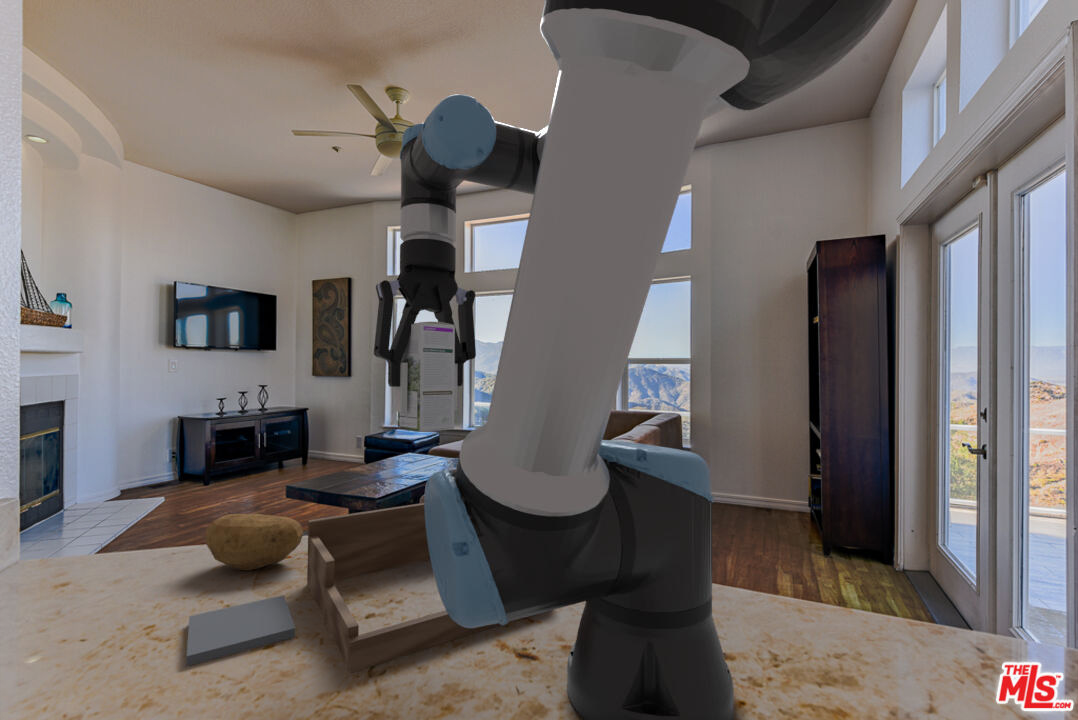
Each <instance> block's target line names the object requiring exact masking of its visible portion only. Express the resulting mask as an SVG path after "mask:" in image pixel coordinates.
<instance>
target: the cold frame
mask: <svg viewBox="0 0 1078 720" xmlns="http://www.w3.org/2000/svg"><path fill="white" fill-rule="evenodd" d="M307 524H308V525H307V564H306V565H307V566H306V567H307V572H306V573H307V574H306V577H307V578H306V581H307V582H306V584H307V587H308V590H309V592H310V593H311V595H312V597H313V599H314V602H315V604H316V606H317V607H318V610H319V612H320V614H321V616H322V618H323V619H324V620H323V621H324V622H325V624H326V626H327V628H328V631H329V632H330V634H331V636H332V638H333V641H334V642H335V645H336V647H337V649H338V651H339V653H340V655H341V657H342V660H343V661H344V664H345V666H346V668H347V670H348V672H349V673H350V674H352V673H355V672H356V673H357V672H359V671H362V670H364V669H368V668H371V667H374V666H377V665H380V664H383V663H386V662H390V661H391V660H395V659H399V658H401V657H404V656H408V655H410V654H414V653H417V652H420V651H423V650H427V649H428V648H432V647H436V646H438V645H441V644H444V643H448V642H450V641H455V640H457V639H460V638H462V637H466V636H469V635H472V634H475V633H477V632H481V631H485V630H487V629H491V628H493V627H494V628H495V627H496V626H500V625H501V624H499V623H497V624H491V625H486V626H481V627H476V628H465V627H463V626H460V625H459V624H457V622H455V621H453V620H452V618H451V617H450V616H449V614H448V613H447V611H446V609H445V610H442V611H438V612H435V613H432V614H428V615H425V616H421V617H417V618H414V619H411V620H406V621H404V622H403V621H402V622H399V623H397V624H393V625H389V626H385V627H383V628H380V629H379V628H378V629H375V630H372V631H368V632H364V633H362V634H359V627H360V626H359V623H358V622H357V620H356V619H355V617H354V615H353V613H352V612H351V610H350V608H349V607H348V605H347V603H346V602H345V600H344V599H343V597H342V596H341V594H340V592H339V590H338V589H337V587H336V586H335V582H336V581H340V580H346V579H350V578H355V577H359V576H363V575H368V574H373V573H378V572H382V571H385V570H386V571H387V570H391V569H396V568H400V567H405V566H410V565H415V564H418V563H423V562H428V561H431V559H430V553H429V548H428V541H427V534H426V525H425V511H424V502H422V503H421V502H420V503H414V504H407V505H401V506H394V507H388V508H380V509H375V510H367V511H361V512H354V513H348V514H342V515H341V514H340V515H334V516H327V517H321V518H315V519H314V518H313V519H309V520H308V521H307Z"/></svg>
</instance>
